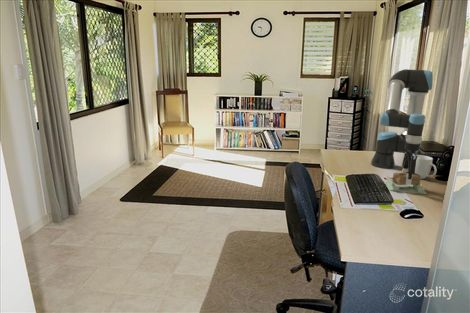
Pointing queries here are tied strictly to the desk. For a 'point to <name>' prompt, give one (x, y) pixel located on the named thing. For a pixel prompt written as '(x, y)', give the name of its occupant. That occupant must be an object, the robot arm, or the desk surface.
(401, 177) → the door
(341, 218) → the desk surface
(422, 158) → the mug
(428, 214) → the desk surface
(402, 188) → the carcass
